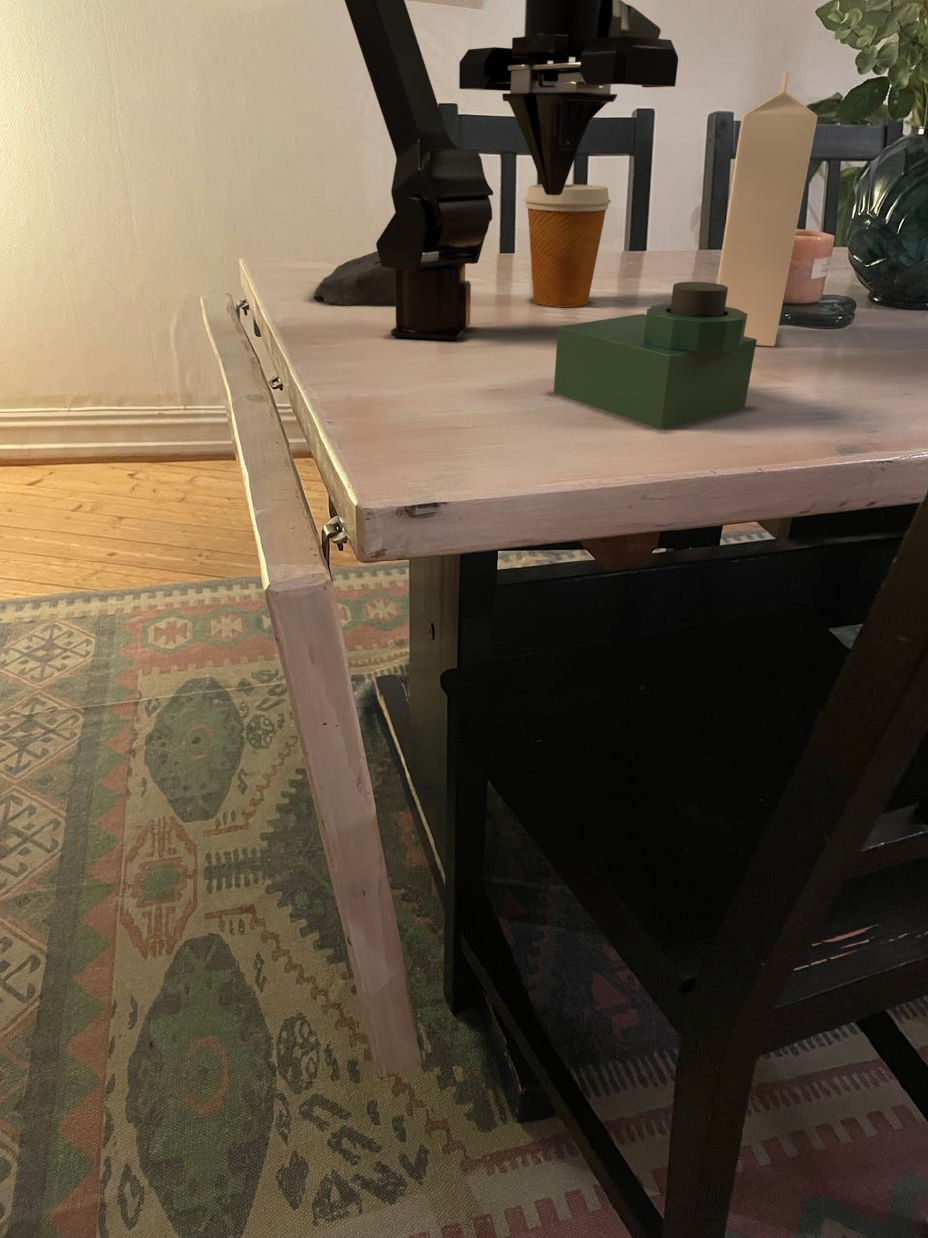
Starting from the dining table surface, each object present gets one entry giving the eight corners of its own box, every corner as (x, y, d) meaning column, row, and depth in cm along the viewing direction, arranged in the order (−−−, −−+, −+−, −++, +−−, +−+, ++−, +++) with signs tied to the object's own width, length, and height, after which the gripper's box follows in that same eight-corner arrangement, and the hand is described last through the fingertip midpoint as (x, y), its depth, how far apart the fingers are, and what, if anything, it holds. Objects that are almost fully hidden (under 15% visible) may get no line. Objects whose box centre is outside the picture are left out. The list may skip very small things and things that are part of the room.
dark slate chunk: (444, 275, 116) (444, 237, 113) (446, 306, 97) (446, 260, 94) (330, 274, 115) (327, 236, 113) (309, 305, 96) (306, 259, 94)
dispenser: (553, 393, 66) (559, 297, 63) (635, 376, 71) (645, 286, 67) (674, 435, 58) (690, 327, 54) (758, 412, 62) (777, 312, 59)
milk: (709, 343, 82) (748, 69, 71) (709, 330, 87) (746, 73, 76) (776, 347, 81) (826, 69, 70) (772, 333, 86) (818, 72, 75)
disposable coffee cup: (615, 300, 101) (625, 186, 95) (579, 312, 94) (588, 190, 88) (543, 292, 105) (549, 182, 99) (504, 303, 98) (508, 186, 92)
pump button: (658, 315, 59) (662, 284, 58) (693, 310, 61) (697, 279, 60) (699, 325, 57) (704, 292, 56) (734, 319, 59) (739, 287, 58)
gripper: (745, -53, 59) (710, 199, 67) (563, -23, 72) (551, 185, 80) (631, -73, 53) (608, 205, 61) (455, -37, 66) (454, 188, 74)
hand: (553, 194), depth 69 cm, fingers closed
